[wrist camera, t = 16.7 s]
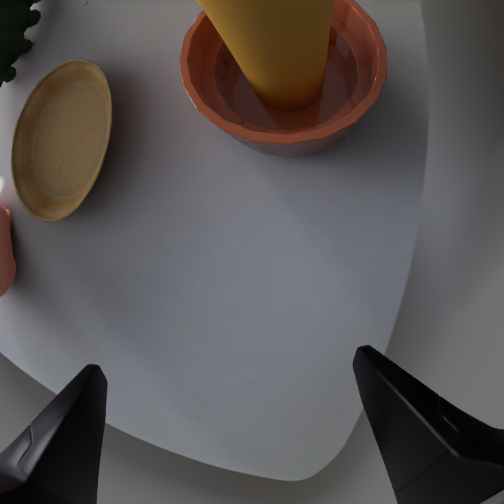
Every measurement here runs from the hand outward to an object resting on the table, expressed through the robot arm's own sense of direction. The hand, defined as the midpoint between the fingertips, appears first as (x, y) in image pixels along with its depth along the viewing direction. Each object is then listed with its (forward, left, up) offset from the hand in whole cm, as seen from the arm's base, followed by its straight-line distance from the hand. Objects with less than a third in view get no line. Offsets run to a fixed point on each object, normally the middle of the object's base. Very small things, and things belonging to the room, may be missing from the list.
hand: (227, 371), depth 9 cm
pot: (+4, -13, -12) cm, 18 cm away
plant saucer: (+21, -3, -12) cm, 25 cm away
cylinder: (+4, -13, -11) cm, 17 cm away
